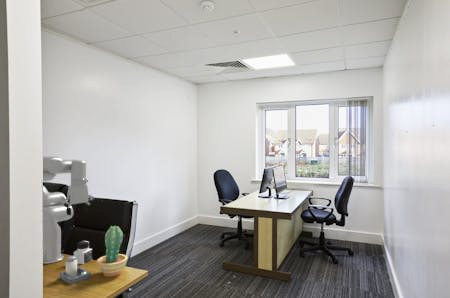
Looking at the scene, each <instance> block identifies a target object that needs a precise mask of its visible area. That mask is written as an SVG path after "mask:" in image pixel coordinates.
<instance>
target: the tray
mask: <svg viewBox="0 0 450 298" xmlns="http://www.w3.org/2000/svg"><path fill="white" fill-rule="evenodd" d="M84 271H85V272H87V274H85V275H82V276H80V274H81V273H82V272H84ZM59 279H60V280H62V281H63V282H65V283H67V284H68V285H70V286H71V285H74V284H77V283H80V282H83V281H87V280H89V279H92V272H90V271H88V270H87V269H84V268H83V267H81V266H79V267H77V277H75V278H72V279H71V278H70V277H68V276H66V270H65V271H63V272H60V273H59Z"/></svg>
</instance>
